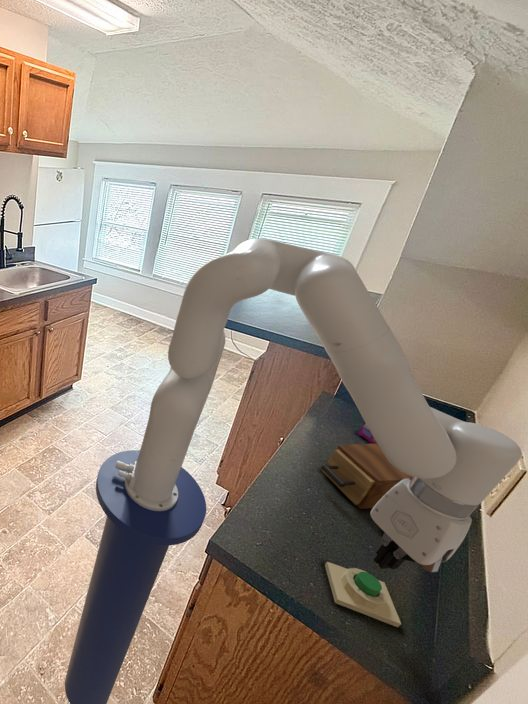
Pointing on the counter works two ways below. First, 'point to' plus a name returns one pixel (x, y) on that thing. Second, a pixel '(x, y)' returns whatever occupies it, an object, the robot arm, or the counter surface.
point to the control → (360, 595)
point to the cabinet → (374, 470)
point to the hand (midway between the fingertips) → (383, 563)
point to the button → (368, 583)
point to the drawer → (348, 476)
